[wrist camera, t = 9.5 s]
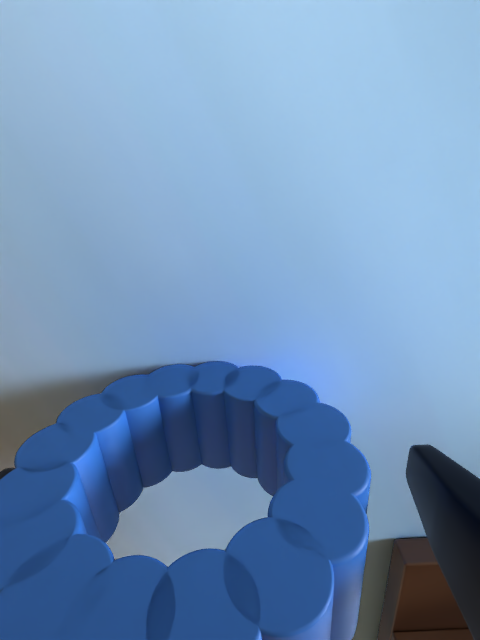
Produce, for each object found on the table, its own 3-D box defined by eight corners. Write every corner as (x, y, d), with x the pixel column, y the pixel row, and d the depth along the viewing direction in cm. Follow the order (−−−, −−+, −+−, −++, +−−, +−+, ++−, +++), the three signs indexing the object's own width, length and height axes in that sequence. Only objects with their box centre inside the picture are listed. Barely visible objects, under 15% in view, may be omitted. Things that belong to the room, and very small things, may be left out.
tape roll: (341, 436, 11) (404, 849, 4) (121, 424, 12) (-85, 737, 6) (347, 363, 10) (439, 766, 3) (104, 357, 11) (-175, 648, 5)
